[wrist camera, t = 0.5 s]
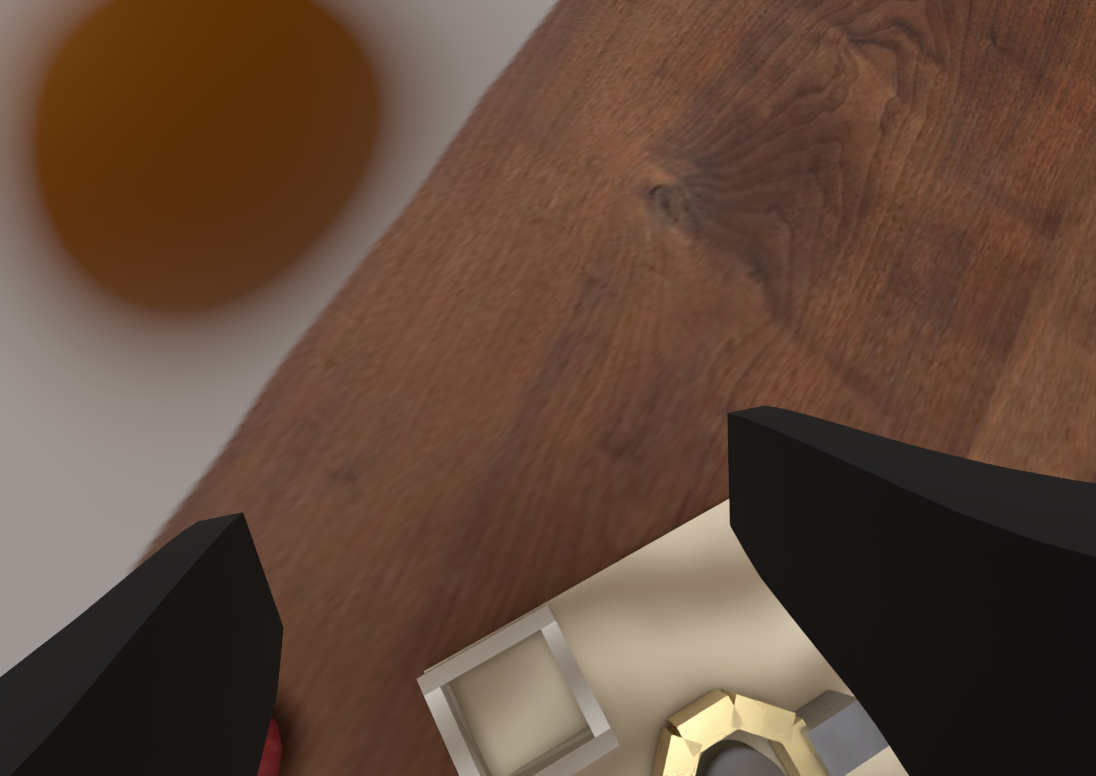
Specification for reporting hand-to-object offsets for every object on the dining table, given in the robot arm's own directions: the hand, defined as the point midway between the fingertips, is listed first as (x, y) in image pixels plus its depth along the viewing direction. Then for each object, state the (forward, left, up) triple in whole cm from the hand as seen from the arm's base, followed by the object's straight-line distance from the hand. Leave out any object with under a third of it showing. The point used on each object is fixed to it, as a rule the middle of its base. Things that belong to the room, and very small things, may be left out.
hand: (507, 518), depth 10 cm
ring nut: (-13, -6, -26) cm, 30 cm away
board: (-11, -3, -27) cm, 30 cm away
